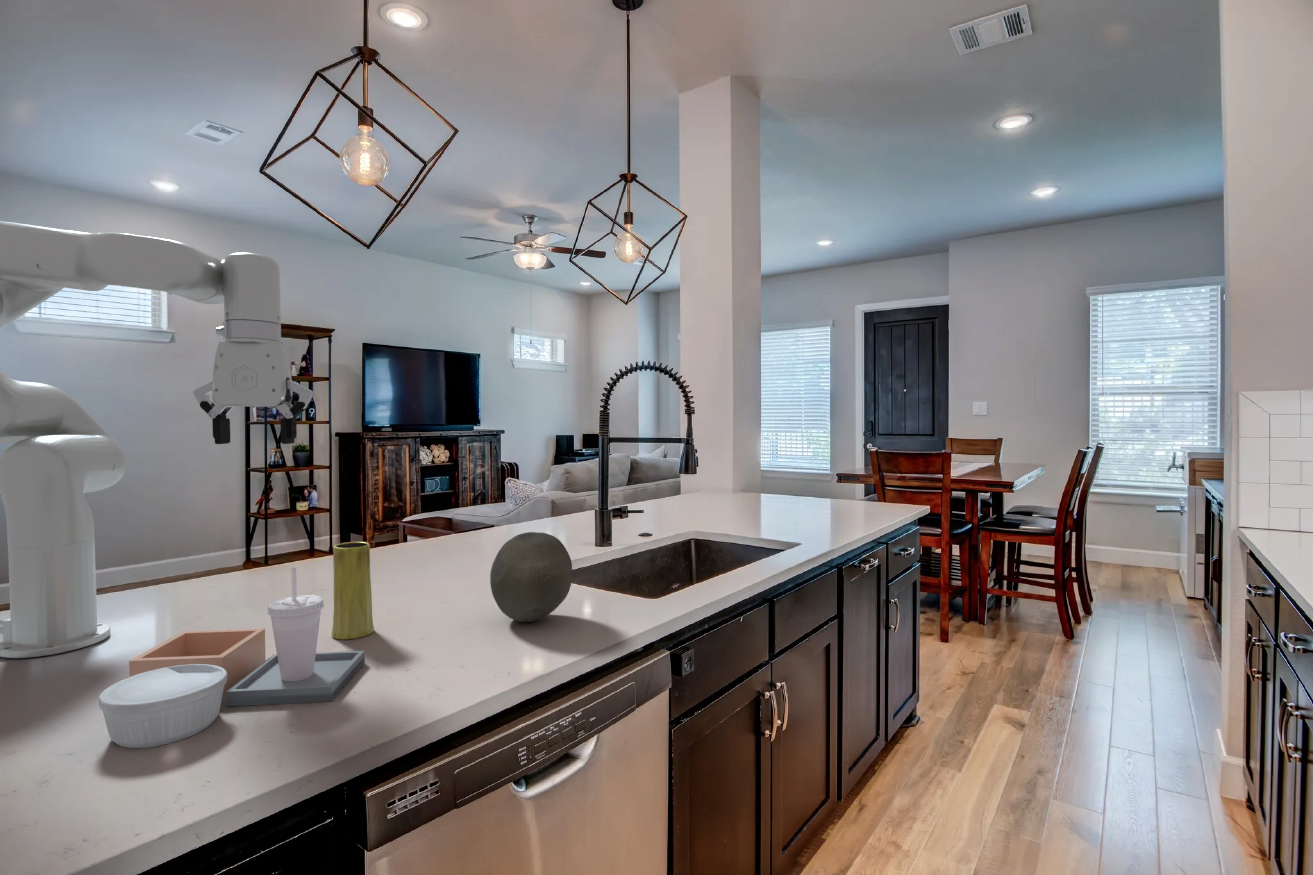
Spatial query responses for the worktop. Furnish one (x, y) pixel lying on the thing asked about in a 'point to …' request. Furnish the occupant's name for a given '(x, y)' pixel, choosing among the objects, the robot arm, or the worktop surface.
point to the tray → (319, 687)
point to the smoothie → (296, 632)
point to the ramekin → (163, 704)
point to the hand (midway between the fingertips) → (255, 443)
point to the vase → (352, 591)
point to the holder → (207, 652)
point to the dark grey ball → (531, 576)
